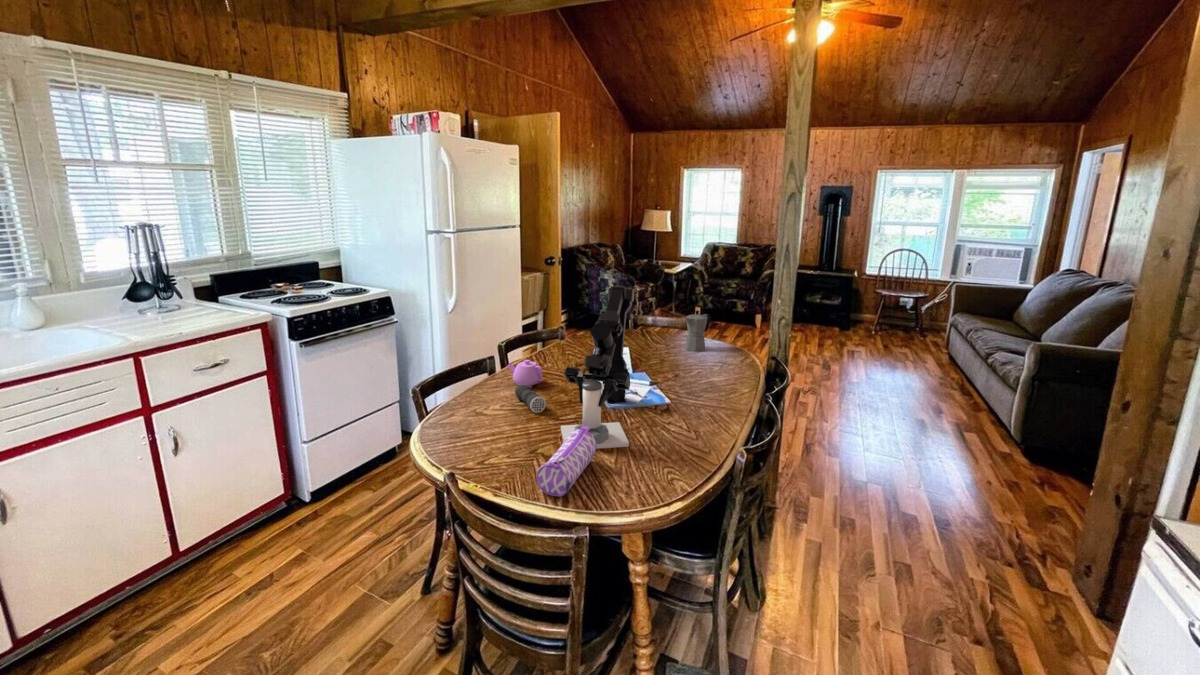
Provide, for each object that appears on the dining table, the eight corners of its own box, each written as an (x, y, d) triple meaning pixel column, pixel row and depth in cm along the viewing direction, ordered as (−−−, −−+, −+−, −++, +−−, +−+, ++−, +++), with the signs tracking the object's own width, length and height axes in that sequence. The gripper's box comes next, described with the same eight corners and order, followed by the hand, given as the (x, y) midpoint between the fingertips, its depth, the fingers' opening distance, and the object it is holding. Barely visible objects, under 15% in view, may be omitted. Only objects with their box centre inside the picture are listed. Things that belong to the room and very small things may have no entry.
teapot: (535, 391, 195) (535, 366, 193) (500, 385, 201) (499, 361, 199) (550, 382, 205) (549, 358, 202) (516, 376, 210) (515, 353, 208)
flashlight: (513, 398, 189) (513, 384, 188) (528, 396, 192) (527, 381, 190) (530, 414, 176) (530, 398, 175) (546, 411, 179) (545, 395, 177)
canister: (594, 419, 161) (595, 379, 157) (604, 425, 156) (605, 384, 153) (578, 423, 158) (578, 382, 154) (588, 430, 153) (588, 388, 150)
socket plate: (619, 425, 168) (619, 414, 167) (628, 446, 155) (629, 434, 154) (560, 429, 165) (560, 418, 164) (565, 450, 152) (565, 438, 151)
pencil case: (569, 503, 127) (569, 466, 125) (532, 496, 130) (532, 460, 127) (598, 459, 148) (598, 427, 145) (566, 454, 150) (566, 422, 148)
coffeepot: (691, 353, 242) (694, 314, 237) (677, 348, 249) (679, 310, 245) (716, 348, 251) (718, 310, 246) (701, 343, 258) (703, 306, 253)
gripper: (566, 339, 157) (551, 388, 150) (628, 346, 151) (616, 397, 144) (575, 357, 166) (562, 404, 159) (635, 364, 161) (624, 413, 154)
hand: (590, 405), depth 154 cm, fingers closed on canister, 5 cm apart
